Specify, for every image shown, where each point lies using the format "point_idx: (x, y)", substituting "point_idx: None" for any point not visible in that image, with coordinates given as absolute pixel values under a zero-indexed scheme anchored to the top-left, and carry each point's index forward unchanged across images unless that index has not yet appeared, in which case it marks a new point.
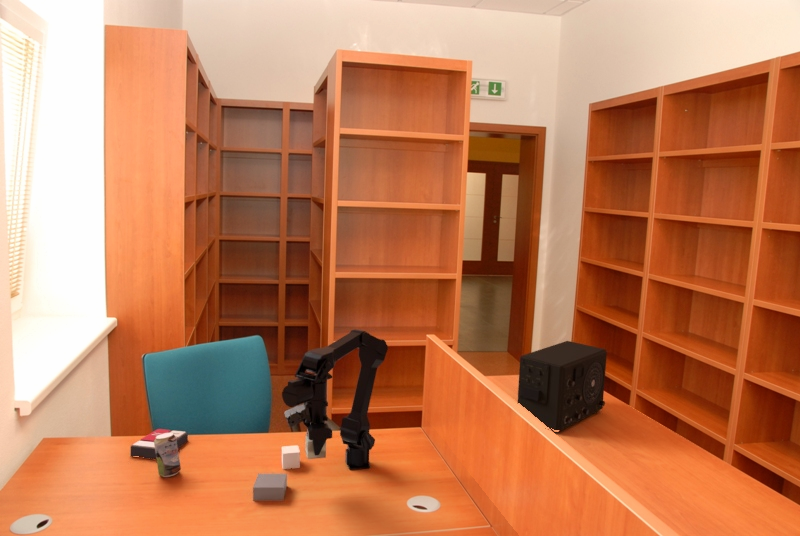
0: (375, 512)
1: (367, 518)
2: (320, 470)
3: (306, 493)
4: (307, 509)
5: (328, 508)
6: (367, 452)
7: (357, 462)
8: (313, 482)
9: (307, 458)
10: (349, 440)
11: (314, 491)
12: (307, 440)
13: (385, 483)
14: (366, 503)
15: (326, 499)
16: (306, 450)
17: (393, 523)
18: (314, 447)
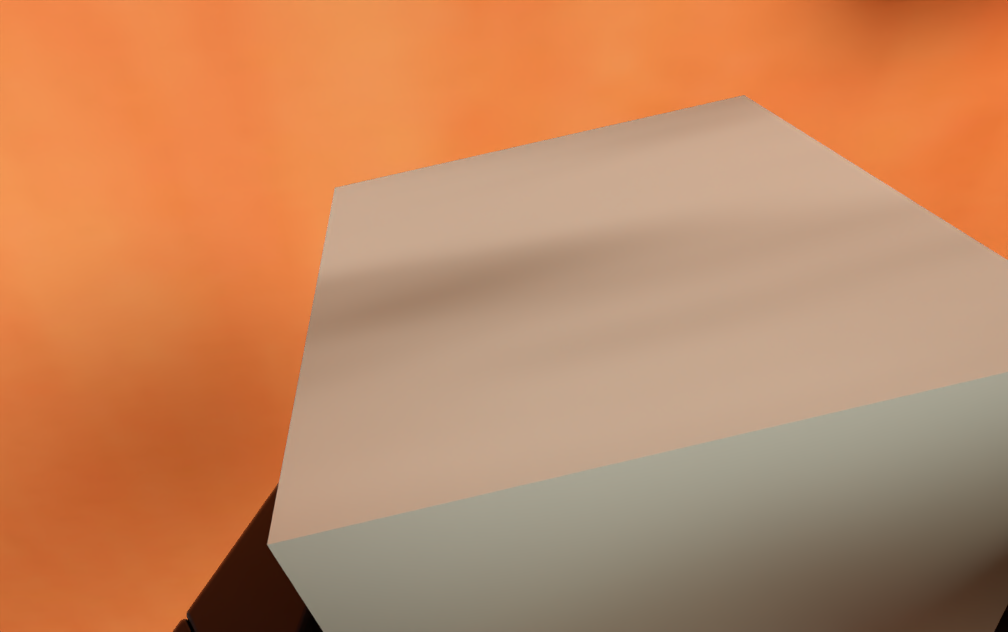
0: (151, 544)
1: (50, 514)
2: (849, 130)
3: (375, 17)
4: (18, 59)
5: (110, 261)
6: None
7: None
8: (616, 78)
9: (352, 187)
10: None
11: (424, 104)
12: (426, 510)
13: None
14: (263, 493)
15: (275, 231)
16: (575, 185)
17: (44, 624)
18: (238, 566)
